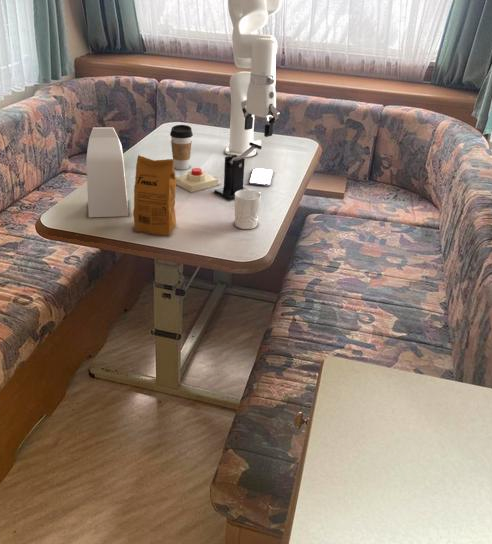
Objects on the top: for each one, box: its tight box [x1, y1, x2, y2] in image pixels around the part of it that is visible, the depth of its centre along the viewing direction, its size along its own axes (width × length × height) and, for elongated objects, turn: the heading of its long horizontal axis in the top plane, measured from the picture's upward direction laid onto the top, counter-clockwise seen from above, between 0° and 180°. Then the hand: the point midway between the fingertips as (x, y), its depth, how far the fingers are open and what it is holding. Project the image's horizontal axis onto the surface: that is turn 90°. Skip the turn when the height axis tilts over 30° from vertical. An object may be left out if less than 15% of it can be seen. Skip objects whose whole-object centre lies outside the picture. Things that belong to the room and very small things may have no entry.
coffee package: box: [133, 154, 177, 236], centre depth 166 cm, size 10×12×22 cm
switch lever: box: [229, 142, 262, 168], centre depth 193 cm, size 12×5×2 cm, turn 130°
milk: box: [85, 126, 129, 218], centre depth 176 cm, size 12×12×26 cm
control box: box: [175, 170, 219, 193], centre depth 203 cm, size 12×10×4 cm
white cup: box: [234, 188, 262, 230], centre depth 174 cm, size 8×8×10 cm
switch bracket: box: [213, 155, 248, 201], centre depth 194 cm, size 10×8×13 cm
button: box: [191, 167, 203, 176], centre depth 201 cm, size 4×4×2 cm
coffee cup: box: [169, 124, 194, 171], centre depth 214 cm, size 8×8×15 cm
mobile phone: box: [248, 167, 274, 187], centre depth 210 cm, size 8×1×15 cm
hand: (258, 132), depth 193 cm, fingers open, 9 cm apart
